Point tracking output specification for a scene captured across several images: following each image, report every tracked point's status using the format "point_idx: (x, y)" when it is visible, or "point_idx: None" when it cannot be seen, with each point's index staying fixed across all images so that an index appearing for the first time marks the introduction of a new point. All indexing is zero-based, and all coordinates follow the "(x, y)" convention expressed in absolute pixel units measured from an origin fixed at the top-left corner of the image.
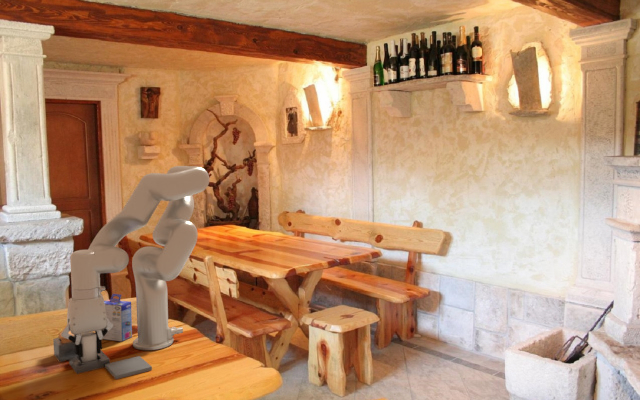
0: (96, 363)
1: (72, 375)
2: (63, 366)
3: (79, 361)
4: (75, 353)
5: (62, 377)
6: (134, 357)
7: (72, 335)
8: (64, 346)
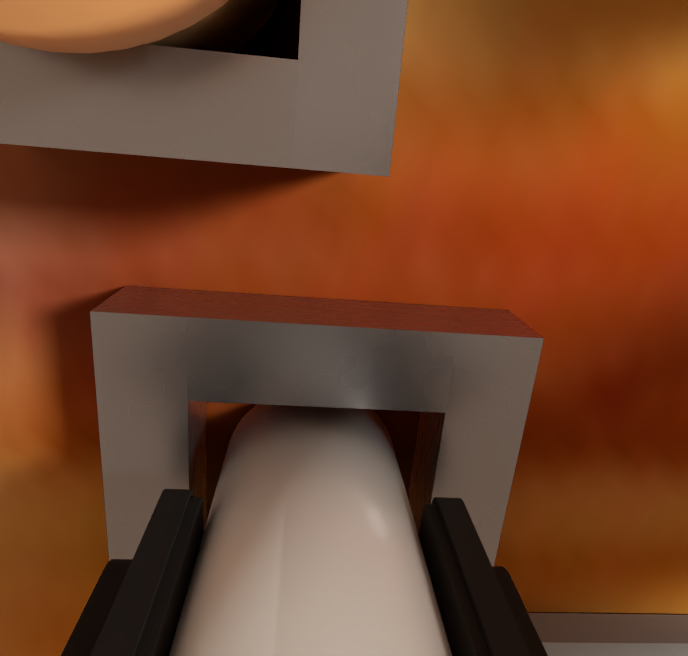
0: None
1: None
2: (49, 330)
3: None
4: (115, 562)
5: (3, 594)
6: (685, 649)
7: (81, 31)
8: None
